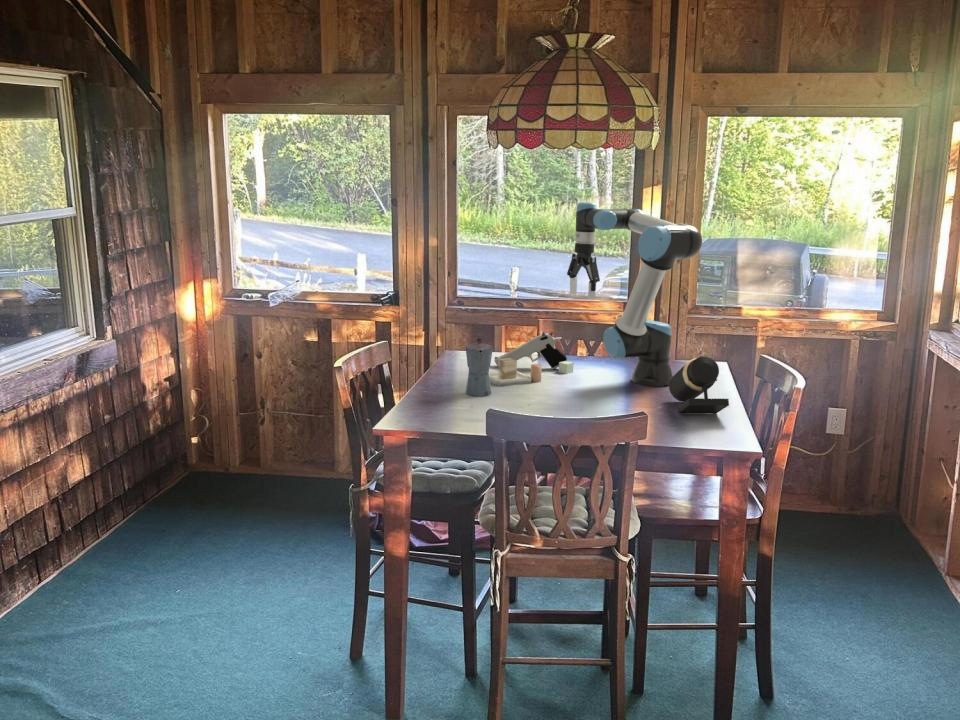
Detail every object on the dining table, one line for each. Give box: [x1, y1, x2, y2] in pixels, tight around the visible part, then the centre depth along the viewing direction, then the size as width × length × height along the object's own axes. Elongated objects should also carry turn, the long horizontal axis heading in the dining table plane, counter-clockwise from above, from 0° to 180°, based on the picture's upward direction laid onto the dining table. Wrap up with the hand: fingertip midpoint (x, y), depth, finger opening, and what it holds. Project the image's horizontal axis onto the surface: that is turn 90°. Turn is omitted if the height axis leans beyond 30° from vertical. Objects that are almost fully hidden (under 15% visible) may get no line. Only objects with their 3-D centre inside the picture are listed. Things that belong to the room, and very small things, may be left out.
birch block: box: [497, 358, 518, 380], centre depth 336 cm, size 5×5×7 cm
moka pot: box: [465, 338, 494, 397], centre depth 317 cm, size 10×15×20 cm, turn 9°
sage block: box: [558, 360, 574, 375], centre depth 352 cm, size 4×4×4 cm
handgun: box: [494, 331, 568, 371], centre depth 357 cm, size 4×28×15 cm, turn 85°
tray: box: [488, 370, 532, 387], centre depth 337 cm, size 12×14×2 cm
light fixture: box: [668, 355, 730, 414], centre depth 302 cm, size 13×18×26 cm
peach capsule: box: [530, 363, 543, 383], centre depth 337 cm, size 4×4×6 cm
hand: (582, 296), depth 354 cm, fingers open, 13 cm apart
